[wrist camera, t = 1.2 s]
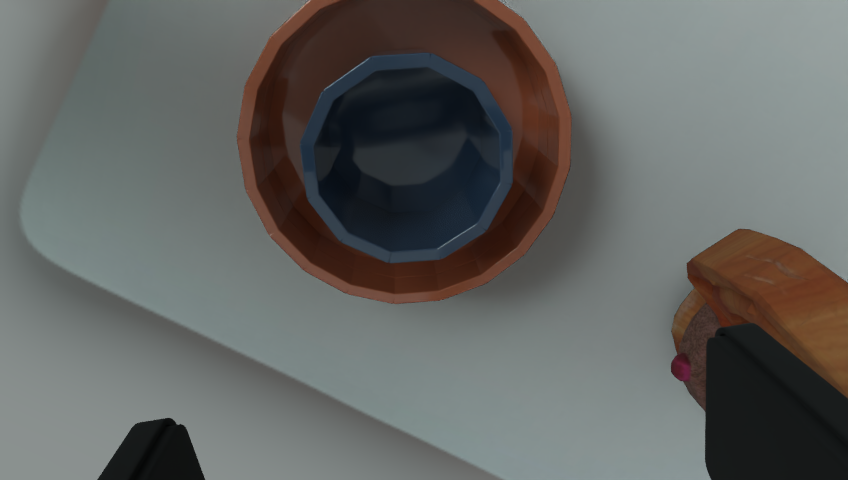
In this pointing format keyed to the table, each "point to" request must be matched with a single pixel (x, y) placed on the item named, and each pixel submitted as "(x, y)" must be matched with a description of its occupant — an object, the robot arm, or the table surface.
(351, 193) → the small bowl
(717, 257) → the mug
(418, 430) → the table surface
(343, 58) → the big bowl
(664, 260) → the table surface
